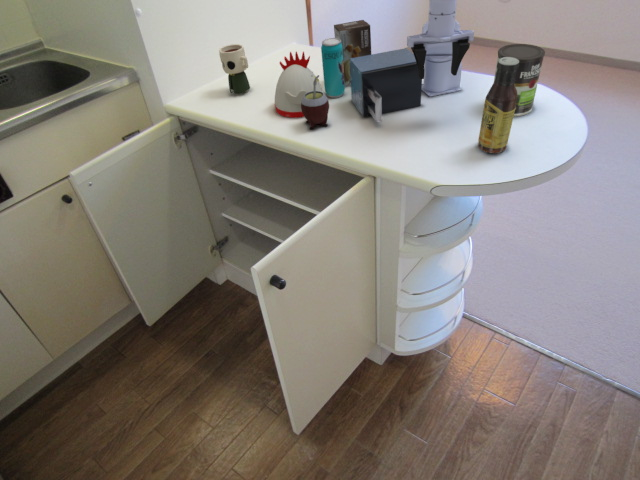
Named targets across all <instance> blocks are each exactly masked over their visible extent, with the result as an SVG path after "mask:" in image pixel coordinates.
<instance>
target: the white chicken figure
mask: <svg viewBox="0 0 640 480" xmlns="http://www.w3.org/2000/svg"><path fill="white" fill-rule="evenodd" d="M294 56H295V57H294ZM294 56H293V54H292V51H289V59H288V58H287V56H284V57H283V58H284V59H283V60H284V62H285V64H284V63H282V61H281V60H280V61H279V65H280V66H281V69H282V72H281V73H280V75H279V76H278V79H277V82H276V87H275V92H274V108H275V112H276V113H277V114H278V115H279V116H281V117H283V118H289V119H300V118H305V117H304V115H303V113H302V110H301V101H302V98H303V96H304V95H305V94H306V93H308V92H312V91H314V85H313V82H314V80H315V78H316V77H317V76H316V75H315V74H314V71H313V70H312V69H310V68H309V67H308V65H309V63H310V59H311V55H309V56H308V57H307V58H306V55H305V51H302V55H301V59H300V57H299V54H298V51H295V55H294ZM316 91H320V92H323V93H324V90H323V87H322V86H321V84H320V79H319V78H318V79H317V85H316Z"/></svg>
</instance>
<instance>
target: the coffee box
mask: <svg viewBox="0 0 640 480" xmlns="http://www.w3.org/2000/svg"><path fill="white" fill-rule="evenodd" d="M333 31H334V38H338V39H340V40H341V44H342V48H343V64H344V81H345V88H346V87H351V77H350V58H356V57H361V56H367V55H372V37H371V36H372V35H371V34H372V33H371V24H370V23H368V22H367V21H366V20H364V19H360V20H354V21H349V22H343V23H337V24H333Z"/></svg>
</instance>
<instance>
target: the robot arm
mask: <svg viewBox="0 0 640 480" xmlns="http://www.w3.org/2000/svg"><path fill="white" fill-rule="evenodd" d="M457 4H458V0H428V16H427V17H428V18H427V21H426V22H425V23H424V24H423V26H421V27H422V28H421V33H419V34H415V35H414V34H413V35H408V36H406V46H407V47H408V48H410V50H411V52H412V53H413V54H414V57H415V60H416V63H417V67H418V74H419V78H420V79H422V80H423V83H422V90H421V92H423V93H424V94H426V96H428V97H435V96H440V95H445V94H450V93H455V92H460V91H462V88H461V80H462V71H463V70H462V69H463V63H462V62H463V59H464V57H465V55H466V54H467V52H468V51H469V49H470V45H471V43H470V42H473V41H474V36H475V31H474V30H473V29H464V30H463V29H461V25H460V22H458V21H457V20H456V17H457Z"/></svg>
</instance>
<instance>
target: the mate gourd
mask: <svg viewBox="0 0 640 480" xmlns="http://www.w3.org/2000/svg"><path fill="white" fill-rule="evenodd" d="M319 77H320V75H319V74H317V76H316V78H315V80H314V82H313V85H314V91H312V92H308V93H306V94H305V95H304V96H303V98H302V101H301V110H302V113H303V115H304V117H303V118H304V119H305V120H306V121H305V123H306V124H309V126H310V127H309V130H311V131H313V130H314V129H315V128H316V127H318V126H320V127H325V128H327V127H328V126H329V124H328V123H327V122H328V117H329V112H330V111H329V110H330V103H329V99H328V98H329V97H328V96H327V94H326V93H324V91H323V92H320V91H316V85H317V79H319Z"/></svg>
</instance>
